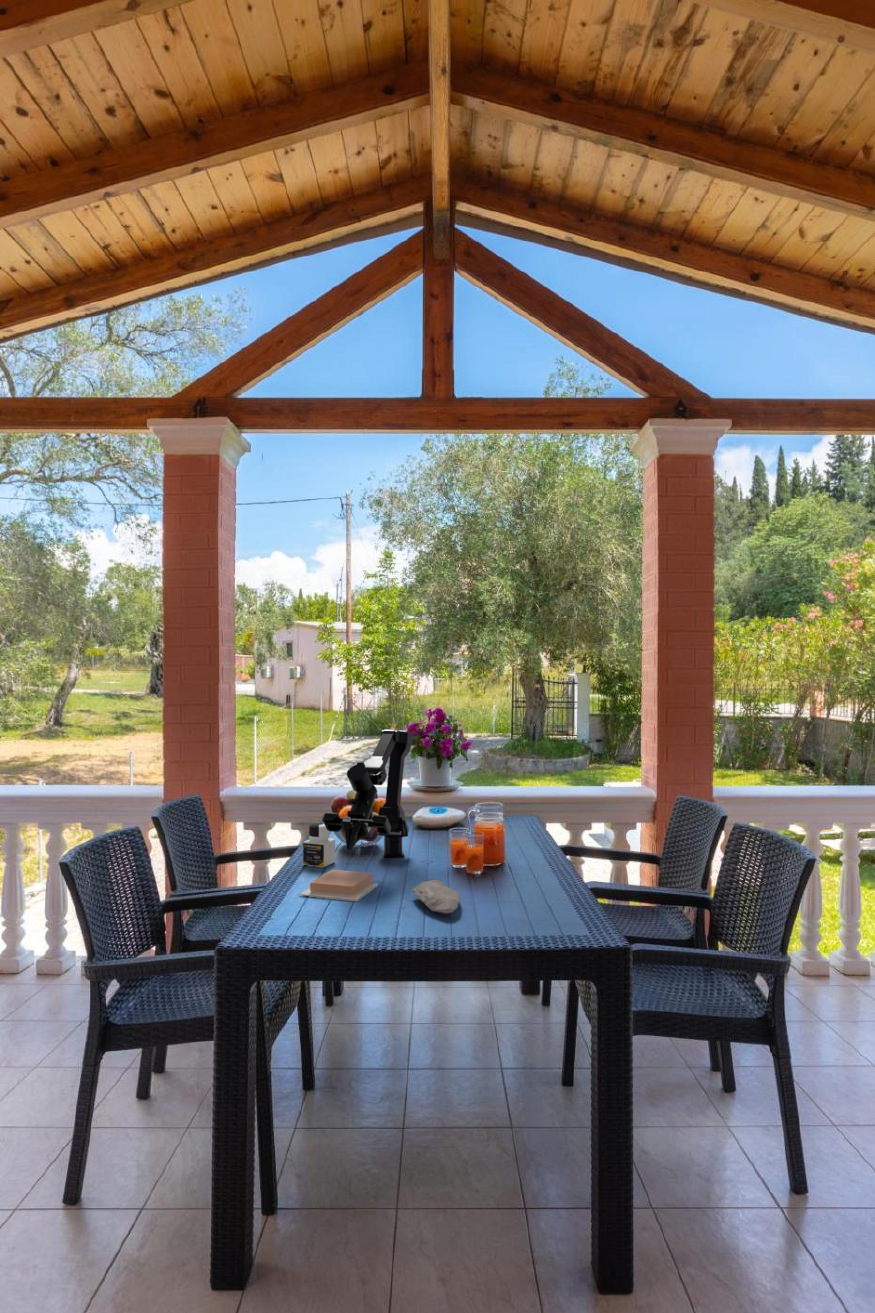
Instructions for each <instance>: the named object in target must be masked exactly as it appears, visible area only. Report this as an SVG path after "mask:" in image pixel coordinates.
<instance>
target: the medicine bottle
mask: <svg viewBox="0 0 875 1313" xmlns="http://www.w3.org/2000/svg"><path fill="white" fill-rule="evenodd" d="M308 835H309V836H308V837H309V839H308V840H304V841H303V843H302V844H303V846H302V854H303V856H302V860H303V861H302V865H303V866H304V865H308V866H307V867H313V866H315V867H314V868H325V867H327V866H330V865H332V864H334V863H335V862H336V839H335V838H330V831H328V830H327V829H326V827H325V825H324V823H323V822H315V823H312V824H310V825H309V827H308Z"/></svg>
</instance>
